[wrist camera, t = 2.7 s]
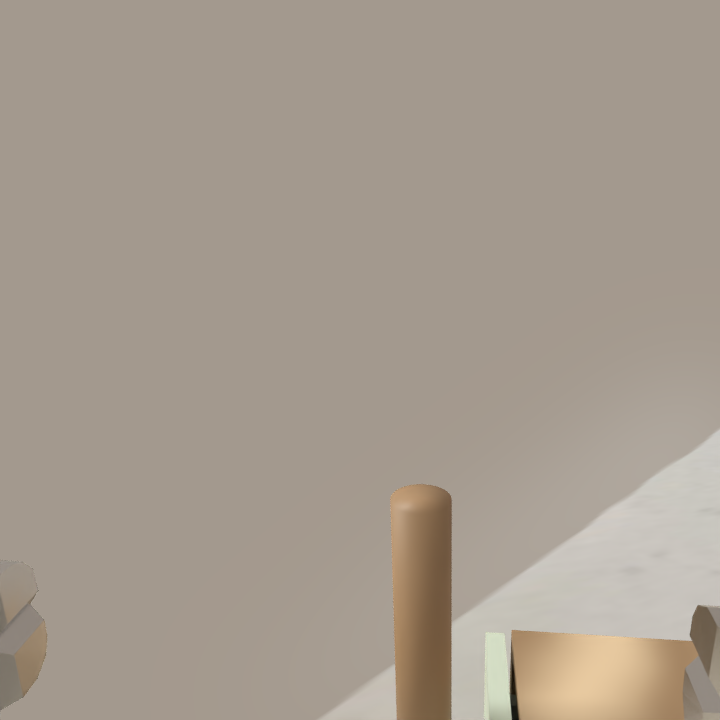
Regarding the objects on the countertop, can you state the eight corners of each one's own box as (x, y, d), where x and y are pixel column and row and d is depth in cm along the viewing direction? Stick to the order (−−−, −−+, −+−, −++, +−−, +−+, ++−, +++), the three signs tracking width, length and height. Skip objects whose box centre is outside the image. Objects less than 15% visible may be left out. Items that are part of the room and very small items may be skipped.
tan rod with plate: (760, 771, 30) (819, 444, 25) (897, 1063, 20) (1032, 629, 16) (409, 741, 32) (402, 435, 27) (388, 991, 23) (371, 592, 18)
